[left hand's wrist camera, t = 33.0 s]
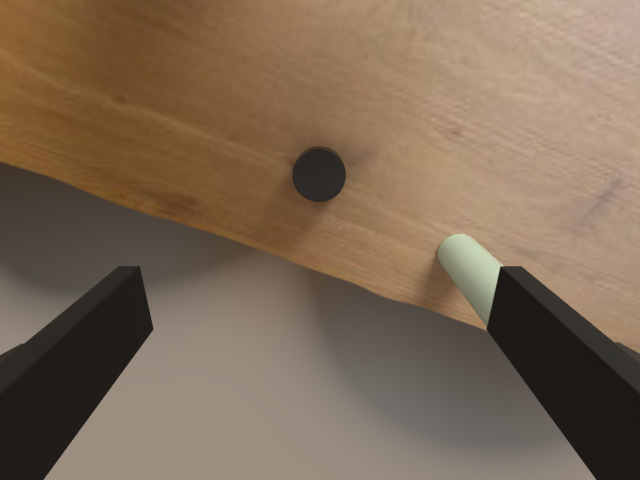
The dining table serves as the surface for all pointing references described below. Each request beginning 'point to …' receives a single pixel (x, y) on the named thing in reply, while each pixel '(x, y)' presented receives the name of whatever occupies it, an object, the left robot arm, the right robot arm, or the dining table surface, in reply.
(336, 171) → the lid
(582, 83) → the dining table surface
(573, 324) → the left robot arm
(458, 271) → the jar
